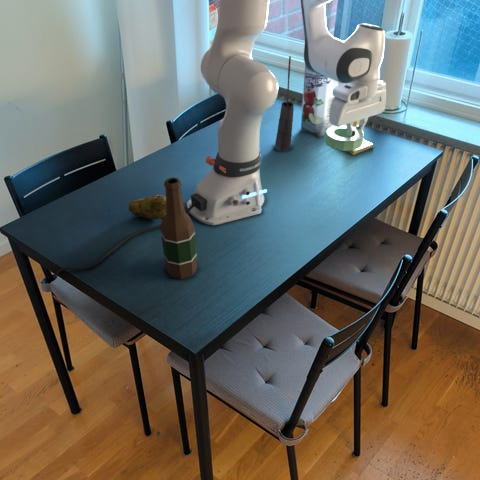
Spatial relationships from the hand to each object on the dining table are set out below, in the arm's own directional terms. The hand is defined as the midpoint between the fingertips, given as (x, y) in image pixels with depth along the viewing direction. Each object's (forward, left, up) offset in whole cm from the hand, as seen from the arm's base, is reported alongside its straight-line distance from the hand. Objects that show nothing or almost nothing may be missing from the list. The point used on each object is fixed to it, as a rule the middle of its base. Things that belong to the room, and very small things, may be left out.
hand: (354, 133), depth 161 cm
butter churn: (-12, +19, -9) cm, 24 cm away
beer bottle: (-72, -16, -9) cm, 74 cm away
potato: (-67, +8, -9) cm, 68 cm away
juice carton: (+6, +23, -9) cm, 26 cm away
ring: (-4, 0, -2) cm, 5 cm away
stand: (+8, +7, -9) cm, 14 cm away
